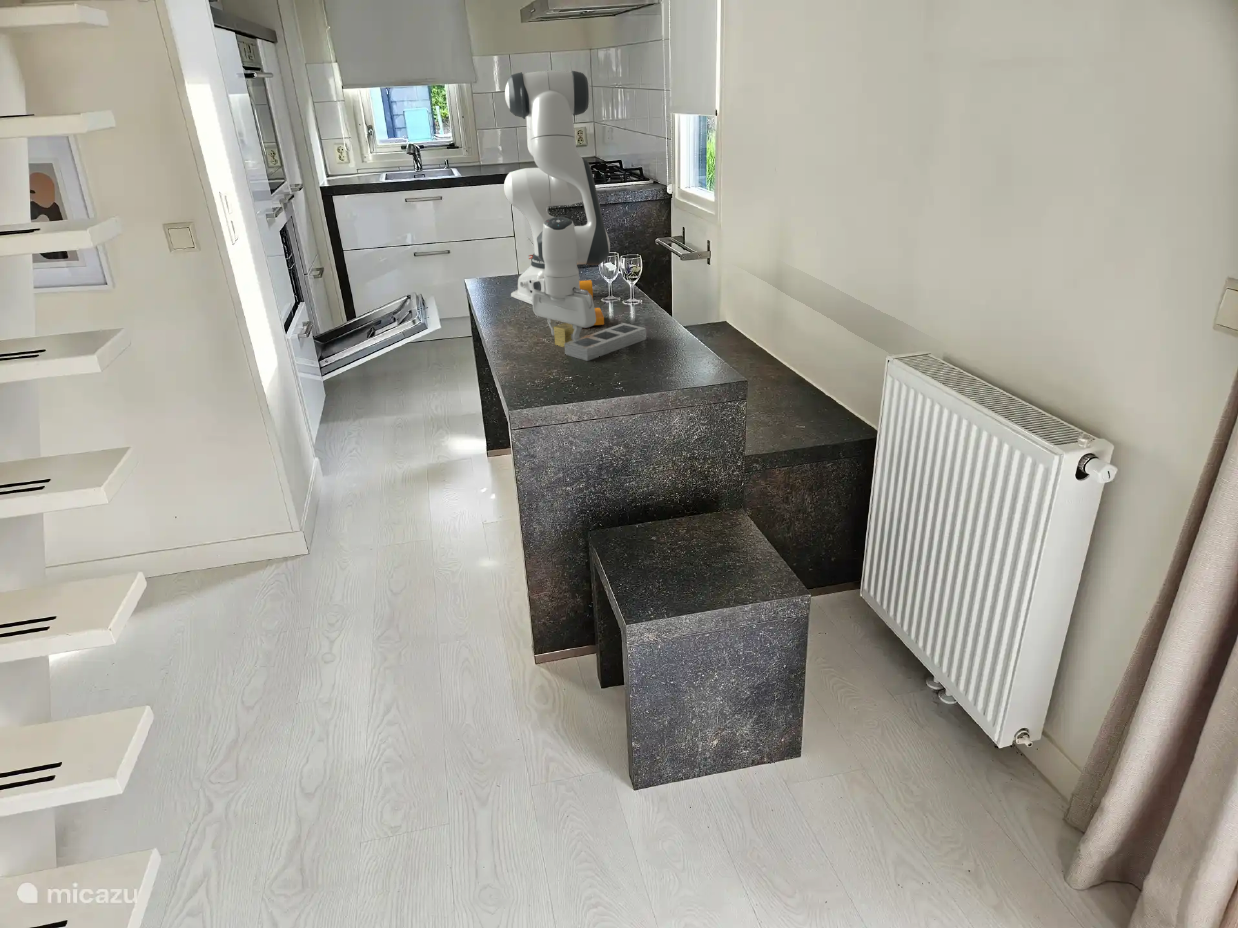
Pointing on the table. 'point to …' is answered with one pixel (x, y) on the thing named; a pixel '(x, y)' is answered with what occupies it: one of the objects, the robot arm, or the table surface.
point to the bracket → (588, 286)
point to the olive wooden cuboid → (563, 334)
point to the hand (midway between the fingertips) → (565, 337)
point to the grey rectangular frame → (605, 341)
